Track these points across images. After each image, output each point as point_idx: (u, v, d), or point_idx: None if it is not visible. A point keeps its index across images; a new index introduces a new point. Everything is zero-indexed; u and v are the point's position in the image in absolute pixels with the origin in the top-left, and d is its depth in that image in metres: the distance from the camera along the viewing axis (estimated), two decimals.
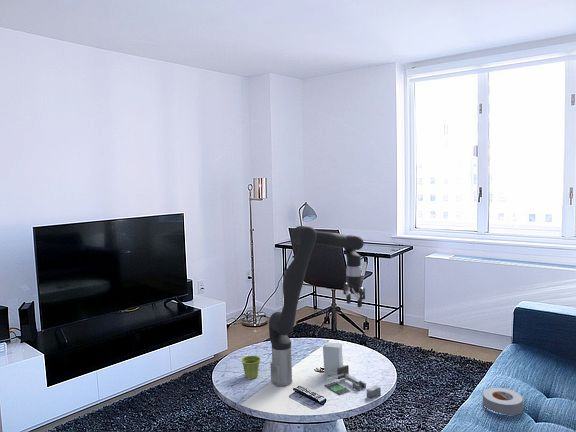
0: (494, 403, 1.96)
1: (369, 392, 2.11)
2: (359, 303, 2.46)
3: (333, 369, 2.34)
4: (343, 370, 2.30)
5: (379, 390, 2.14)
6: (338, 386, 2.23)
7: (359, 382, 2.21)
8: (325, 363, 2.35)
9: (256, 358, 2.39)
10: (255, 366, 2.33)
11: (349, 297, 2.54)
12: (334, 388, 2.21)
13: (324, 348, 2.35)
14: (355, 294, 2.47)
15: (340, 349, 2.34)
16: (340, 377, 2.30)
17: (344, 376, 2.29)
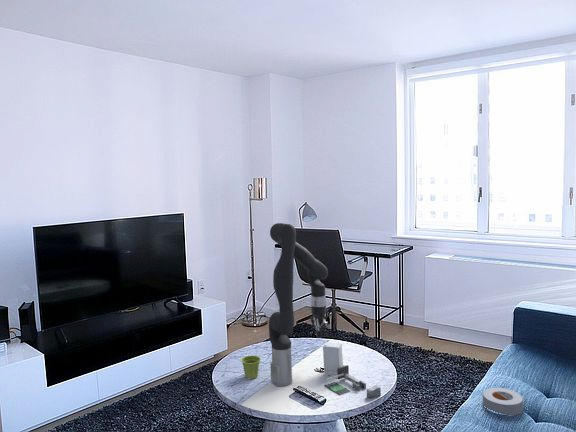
0: (494, 403, 1.96)
1: (369, 392, 2.11)
2: (319, 334, 2.44)
3: (333, 369, 2.34)
4: (343, 370, 2.30)
5: (379, 390, 2.14)
6: (338, 386, 2.23)
7: (359, 382, 2.21)
8: (325, 363, 2.35)
9: (256, 358, 2.39)
10: (255, 366, 2.33)
11: None
12: (334, 388, 2.21)
13: (324, 348, 2.35)
14: (317, 325, 2.43)
15: (340, 349, 2.34)
16: (340, 377, 2.30)
17: (344, 376, 2.29)
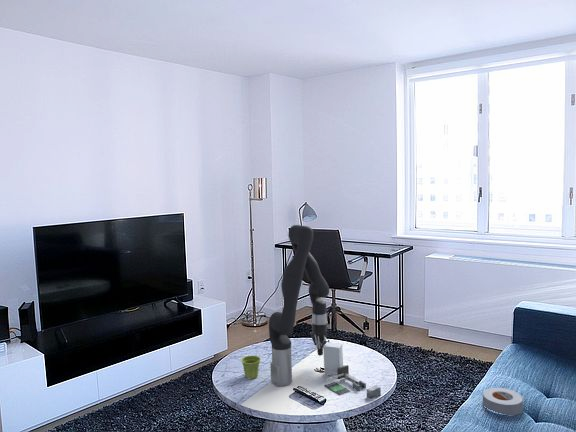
0: (494, 403, 1.96)
1: (369, 392, 2.11)
2: (320, 351, 2.44)
3: (333, 368, 2.34)
4: (343, 370, 2.30)
5: (379, 390, 2.14)
6: (338, 386, 2.23)
7: (359, 382, 2.21)
8: (325, 363, 2.35)
9: (256, 358, 2.39)
10: (255, 366, 2.33)
11: None
12: (334, 388, 2.21)
13: (324, 348, 2.34)
14: (318, 342, 2.43)
15: (340, 349, 2.34)
16: (340, 377, 2.30)
17: (344, 376, 2.29)
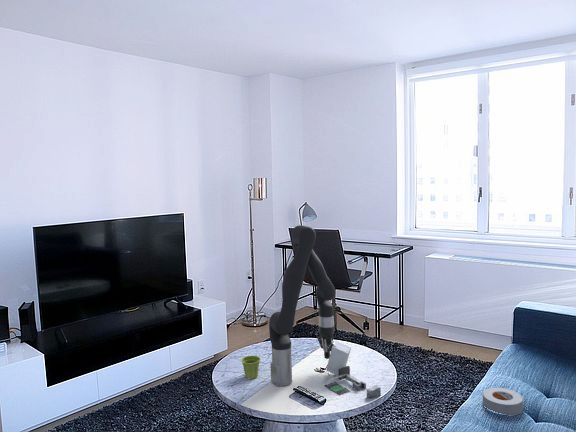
0: (494, 403, 1.96)
1: (369, 392, 2.11)
2: (327, 355, 2.40)
3: (336, 369, 2.32)
4: (344, 370, 2.29)
5: (379, 390, 2.14)
6: (338, 386, 2.23)
7: (360, 383, 2.21)
8: (330, 361, 2.33)
9: (256, 358, 2.39)
10: (255, 366, 2.33)
11: None
12: (334, 388, 2.21)
13: (333, 349, 2.30)
14: (325, 346, 2.39)
15: (348, 353, 2.30)
16: (341, 378, 2.29)
17: (345, 377, 2.28)
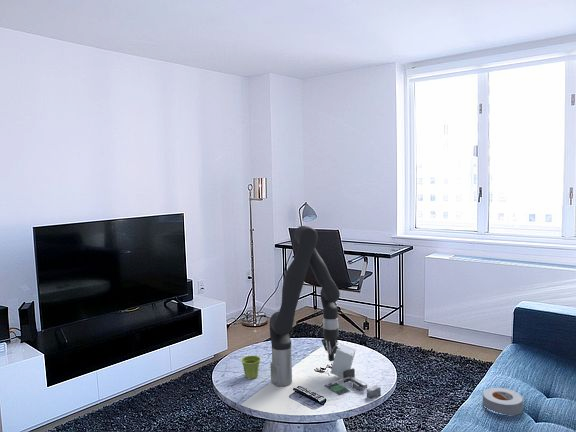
0: (494, 403, 1.96)
1: (369, 392, 2.11)
2: (331, 357, 2.37)
3: (341, 371, 2.29)
4: (349, 373, 2.27)
5: (379, 390, 2.14)
6: (338, 386, 2.23)
7: (365, 386, 2.18)
8: (334, 364, 2.30)
9: (256, 358, 2.39)
10: (255, 366, 2.33)
11: None
12: (334, 388, 2.21)
13: (337, 351, 2.27)
14: (329, 348, 2.36)
15: (353, 356, 2.27)
16: (346, 380, 2.26)
17: (350, 379, 2.25)
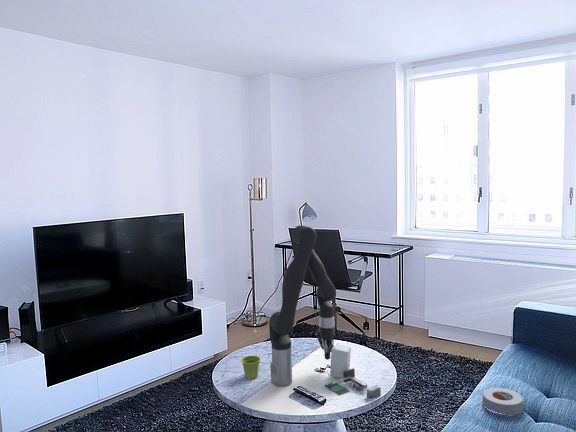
0: (494, 403, 1.96)
1: (369, 392, 2.11)
2: (327, 355, 2.39)
3: (340, 371, 2.30)
4: (349, 373, 2.27)
5: (379, 390, 2.14)
6: (338, 386, 2.23)
7: (366, 386, 2.18)
8: (332, 365, 2.31)
9: (256, 358, 2.39)
10: (255, 366, 2.33)
11: None
12: (334, 388, 2.21)
13: (333, 350, 2.29)
14: (325, 346, 2.38)
15: (349, 353, 2.29)
16: (346, 380, 2.26)
17: (350, 379, 2.25)
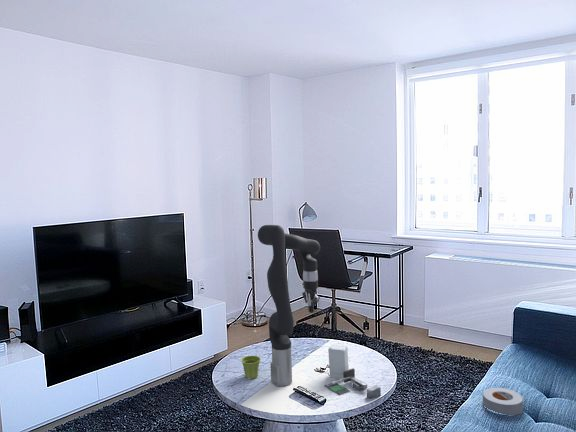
0: (494, 403, 1.96)
1: (369, 392, 2.11)
2: (311, 309, 2.47)
3: (339, 371, 2.31)
4: (349, 373, 2.27)
5: (379, 390, 2.14)
6: (338, 386, 2.23)
7: (366, 386, 2.18)
8: (330, 366, 2.32)
9: (256, 358, 2.39)
10: (255, 366, 2.33)
11: None
12: (334, 388, 2.21)
13: (329, 351, 2.31)
14: (309, 299, 2.45)
15: (346, 352, 2.31)
16: (346, 380, 2.26)
17: (350, 379, 2.25)
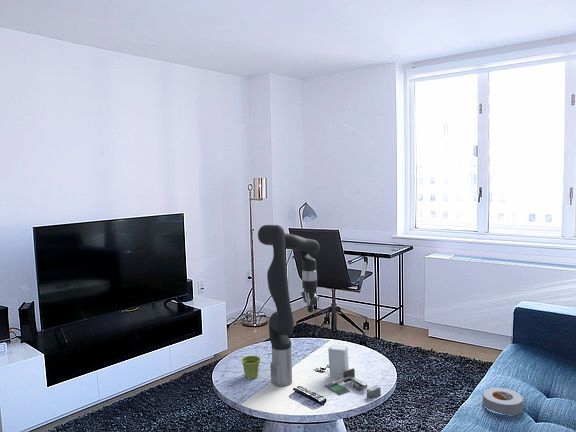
0: (494, 403, 1.96)
1: (369, 392, 2.11)
2: (310, 308, 2.47)
3: (339, 371, 2.31)
4: (349, 373, 2.27)
5: (379, 390, 2.14)
6: (338, 386, 2.23)
7: (366, 386, 2.18)
8: (330, 366, 2.32)
9: (256, 358, 2.39)
10: (255, 366, 2.33)
11: None
12: (334, 388, 2.21)
13: (329, 351, 2.31)
14: (308, 299, 2.46)
15: (346, 352, 2.31)
16: (346, 380, 2.26)
17: (350, 379, 2.25)
